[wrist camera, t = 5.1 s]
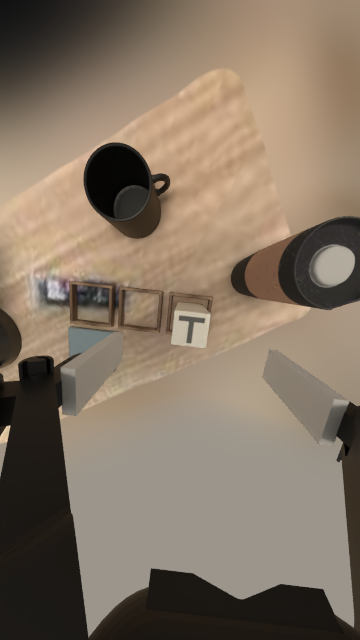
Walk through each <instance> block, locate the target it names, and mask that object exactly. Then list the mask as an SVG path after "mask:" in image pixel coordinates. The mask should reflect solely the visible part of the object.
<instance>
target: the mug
mask: <svg viewBox="0 0 360 640" xmlns="http://www.w3.org/2000/svg"><path fill="white" fill-rule="evenodd" d="M158 181H164V182H165V184H164V185H163V186H162V187H161V188H160V189H155V185H154V183H156V182H158ZM169 186H170V178H169V176H167V175H166V174H156V175H154V174H153V175H151V172H150V169H149V167H148V165H147V163H146V161H145V159H144V158H143V157H142V156H141V154H140V153H139V152H138V151H136V150H135V149H134V148H132V147H131V146H129V145H126V144H123V143H108V144H105V145H103V146H101V147H99V148H98V149H97V150H96V151H94V152H93V154H92V155H91V156H90V158H89V160H88V161H87V164H86V167H85V171H84V188H85V192H86V195H87V198H88V200H89V202H90V204H91V205H92V207H93V208H94V209H95V210H96V211H97V212H98V213H99V214H100V215H101V216H102V217H103V218H105V219H106V220H107V221H108V222H109V223H111V224H112V225H113V226H114V227H115V228H117V229H118V230H119V231H120V232H122V233H123V234H124V235H126V236H128V237H131V238H142V237H145V236H147V235H149V234H150V233H152V232H153V231H154V230H155V228H156V227H157V225H158V223H159V220H160V216H161V206H160V202H159V199H158V196H160V195H161V194H162V193H164V192H165V191H166V190H167V189H168V188H169Z"/></svg>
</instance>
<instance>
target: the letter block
mask: <svg viewBox="0 0 360 640" xmlns="http://www.w3.org/2000/svg"><path fill="white" fill-rule="evenodd" d="M210 316H211V314H210V313H209V312H208V311H207V309H206V308H205V307H204V306H203V305H202V304H194V303H186V302H178V303H177V306H176V308H175V312H174V322H173V331H172V341H171V344H172V345H181V346H190V347H198V348H206V343H207V336H208V330H209V323H210Z"/></svg>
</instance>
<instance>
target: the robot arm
mask: <svg viewBox="0 0 360 640" xmlns="http://www.w3.org/2000/svg"><path fill="white" fill-rule="evenodd" d="M122 344H123V333H121V332H113V333H112V334H110V335H109V336H107V337H106V338H104V339H103V340H101V341H100V342H98V343H97V344H95V345H94V346H92V347H91V348H89V349H88V350H86V351H85V352H83V353H78V354H75V355H73V356H71V357H69V358H68V359H67V360H65V361H63V362H62V363H60V364H58V365H57V366H55V367H54V360H53V358H52V357H50V356H35V357H30V358H27V359H24V360H22V361H20V362H19V364H18V368H19V378H20V381H9V382H4V379H3V375H2V374H1V373H0V436H1V434H2V432H3V431H4V429H5V428H6V426H9V425H11V426H10V431H9V437H8V442H7V447H6V452H5V457H4V462H3V467H2V472H1V477H0V640H360V406H356V405H354V404H353V403H351V402H350V401H349V400H347V399H346V398H345V397H343V396H342V395H340V394H339V393H337V392H336V391H335V390H333V389H332V388H330V387H329V386H327V385H326V384H325V383H323V382H322V381H320V380H319V379H318V378H316V377H315V376H313V375H312V374H310V373H309V372H308V371H306V370H305V369H303V368H302V367H300V366H299V365H298V364H296V363H295V362H293V361H292V360H290V359H289V358H288V357H286V356H285V355H283V354H282V353H281V352H279V351H278V350H269V352H268V356H267V360H266V365H265V369H264V373H263V378H264V380H265V381H266V382H267V383H268V384H269V386H270V387H271V388H272V389H273V390H274V392H275V393H276V394H277V395H278V396H279V398H280V399H281V400H282V401H283V402H284V403H285V404H286V406H287V407H288V408H289V409H290V411H291V412H292V413H293V414H294V415H295V417H296V418H297V419H298V420H299V421H300V422H301V424H302V425H303V426H304V427H305V428H306V430H307V431H308V432H309V433H310V434H311V435H312V437H313V438H314V439H315V440H316V441H317V443H318V444H321V445H330V446H333V445H334V442H335V439H336V437H338V438H340V439H341V441H343V445H342V447H341V450H340V453H339V455H338V458H337V461H338V462H340V460H342V469H343V480H344V494H345V506H346V518H347V530H348V542H349V555H350V567H351V579H352V592H353V603H354V628H353V627H352V626H350V625H349V624H347V623H346V622H345V621H343V620H342V619H340V618H339V617H337V616H336V615H335V614H334V612H333V610H332V608H331V606H330V604H329V601H328V599H327V597H326V595H325V592H324V590H323V589H317V588H308V587H299V586H292V585H284V584H280V585H278V586H275V587H273V588H270V589H268V590H266V591H263V592H261V593H258V594H256V595H253V596H251V597H248V598H246V599H243V600H242V599H237V598H235V597H233V596H232V595H229V594H228V593H226V592H224V591H223V590H221V589H219V588H217V587H216V586H214V585H212V584H210V583H209V582H207V581H205V580H203V579H202V578H200V577H198V576H196V575H195V574H193V573H184V572H176V571H168V570H160V569H151V573H150V581H149V587H147V588H145V589H142V590H140V591H137V592H136V593H134V594H132V595H130V596H129V597H127V598H126V599H124V600H123V601H122V602H121V603H119V604H118V605H117V606H116V607H115V608H114V609H113V610H112V611H111V612H110V613H109V614H108V615H107V616H106V617H105V618H104V619H103V620H102V621H101V623H100V624H99V625H98V627H97V628H96V629H95V630H94V632H93V633H92V634H91V635H90V637H89V638H88V631H87V623H86V615H85V607H84V599H83V592H82V583H81V575H80V569H79V568H80V567H79V560H78V552H77V544H76V536H75V528H74V521H73V516H72V514H71V509H70V501H69V493H68V485H67V477H66V468H65V460H64V452H63V443H62V435H61V426H60V418H59V409H58V408H59V407H60V406H61V405H62V414H65V415H74V416H77V414H78V413H79V412H80V411H81V410H82V408H83V407H84V406H85V405H86V404H87V402H88V401H89V400H90V399H91V398H92V396H93V395H94V394H95V393H96V392H97V390H98V389H99V388H100V387H101V386H102V384H103V383H104V382H105V381H106V379H107V378H108V377H109V376H110V375H111V373H112V372H113V371H114V370H115V369H116V367H117V366H118V365H119V364H120V363H121V361H122ZM20 348H21V338H20V334H19V331H18V329H17V327H16V325H15V323H14V322H13V320H12V319H11V318H10V317H9V316H8V315H7V314H6V313H5V312H4V311H2V310H1V309H0V368H2V367H4V366H7V365H9V364H10V363H12V362H13V361H14V360H15V359H16V358H17V356H18V354H19V352H20ZM148 588H149V589H148ZM147 597H148V598H147Z"/></svg>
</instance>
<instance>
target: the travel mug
mask: <svg viewBox="0 0 360 640" xmlns="http://www.w3.org/2000/svg"><path fill="white" fill-rule="evenodd" d="M231 281H232V285H233V287H234V288H235V289H236V290H237V291H238V292H239V293H241V294H244V295H248V296H252V297H256V298H260V299H264V300H270V301H276V302H282V303H289V304H295V305H301V306H307V307H313V308H319V309H325V310H332V309H333V308H336V307H340V306H342V305H346V304H349V303H352V302H357V301H360V218H359V217H353V216H344V217H338V218H334V219H331V220H328V221H326V222H323V223H321V224H319V225H316V226H314V227H312V228H310V229H307V230H305V231H303V232H301V233H298V234H296V235H294V236H291V237H289V238H287V239H284V240H282V241H280V242H278V243H275V244H273V245H271V246H269V247H266V248H264V249H262V250H260V251H258V252H256V253H254V254H252V255H251V256H249V257H247V258H245V259H243V260H242V261H240V262H239V263H238V264H237V265H236V266H235V267H234V269H233V271H232V275H231Z"/></svg>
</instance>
